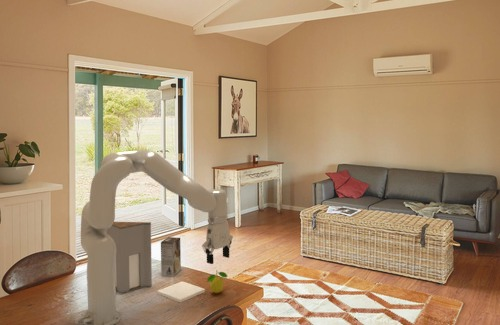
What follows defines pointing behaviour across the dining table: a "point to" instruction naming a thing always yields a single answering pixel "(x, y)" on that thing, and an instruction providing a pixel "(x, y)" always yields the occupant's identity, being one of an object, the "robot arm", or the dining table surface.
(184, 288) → the plate
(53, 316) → the dining table surface
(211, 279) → the lemon
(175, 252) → the coffee box
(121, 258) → the cabinet
